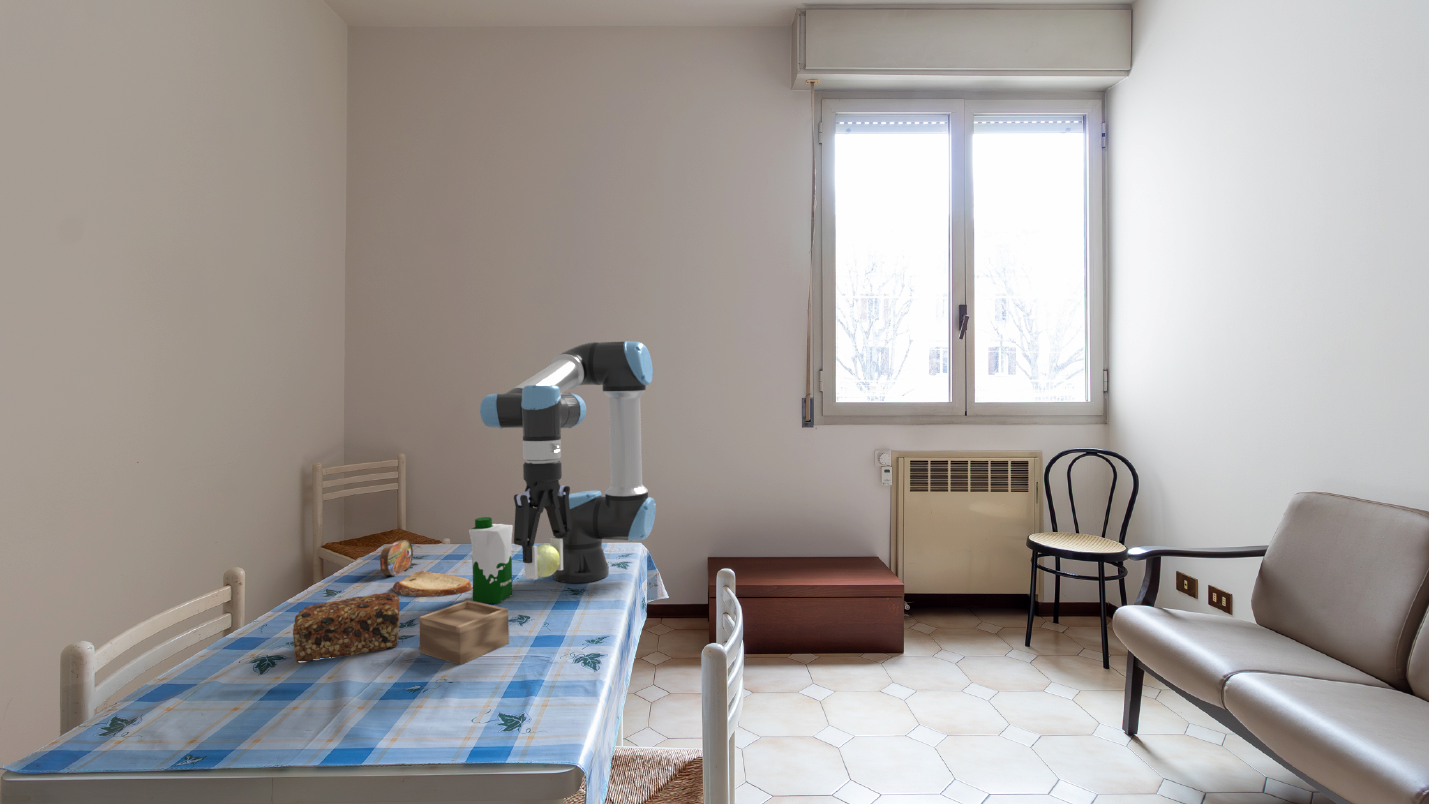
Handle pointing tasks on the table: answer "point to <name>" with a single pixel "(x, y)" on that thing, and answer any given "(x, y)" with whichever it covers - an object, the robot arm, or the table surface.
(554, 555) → the tennis ball
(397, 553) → the tin
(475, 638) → the wooden box
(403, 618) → the table surface
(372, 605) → the bread
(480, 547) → the milk carton
